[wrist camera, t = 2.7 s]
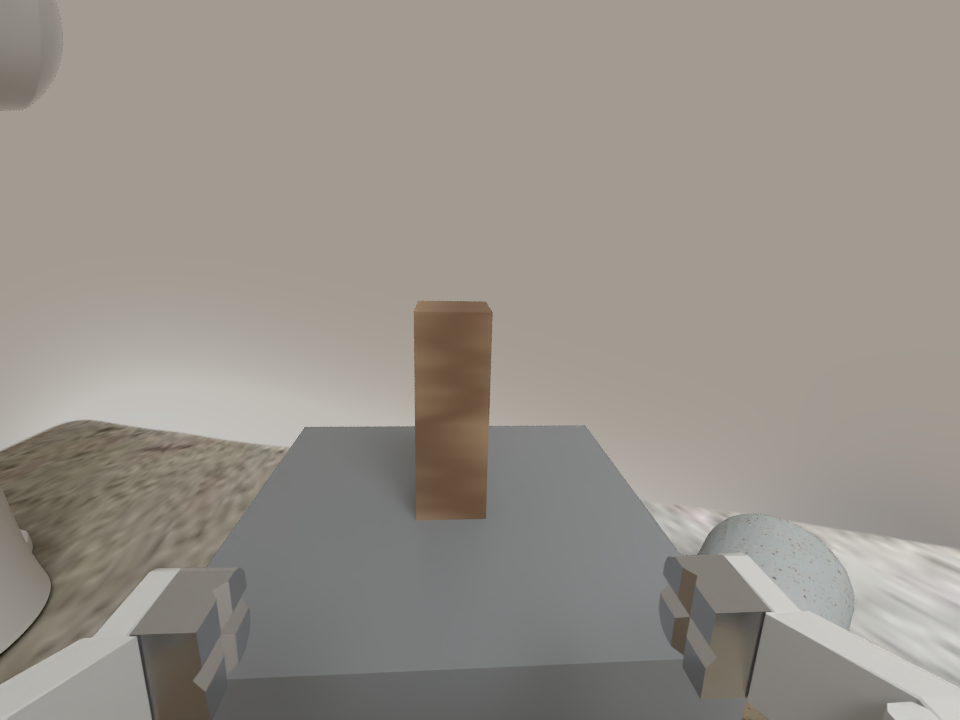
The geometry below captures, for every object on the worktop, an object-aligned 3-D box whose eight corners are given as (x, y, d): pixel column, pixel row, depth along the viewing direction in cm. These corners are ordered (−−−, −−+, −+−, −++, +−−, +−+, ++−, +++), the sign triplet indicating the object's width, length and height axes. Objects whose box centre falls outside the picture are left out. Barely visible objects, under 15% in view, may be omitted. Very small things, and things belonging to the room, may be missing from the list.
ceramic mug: (650, 681, 26) (671, 557, 24) (696, 596, 32) (715, 492, 30) (912, 838, 19) (971, 687, 17) (905, 694, 26) (948, 570, 24)
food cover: (177, 949, 16) (58, 360, 11) (315, 575, 33) (294, 281, 28) (703, 903, 17) (816, 363, 12) (572, 567, 34) (597, 286, 29)
